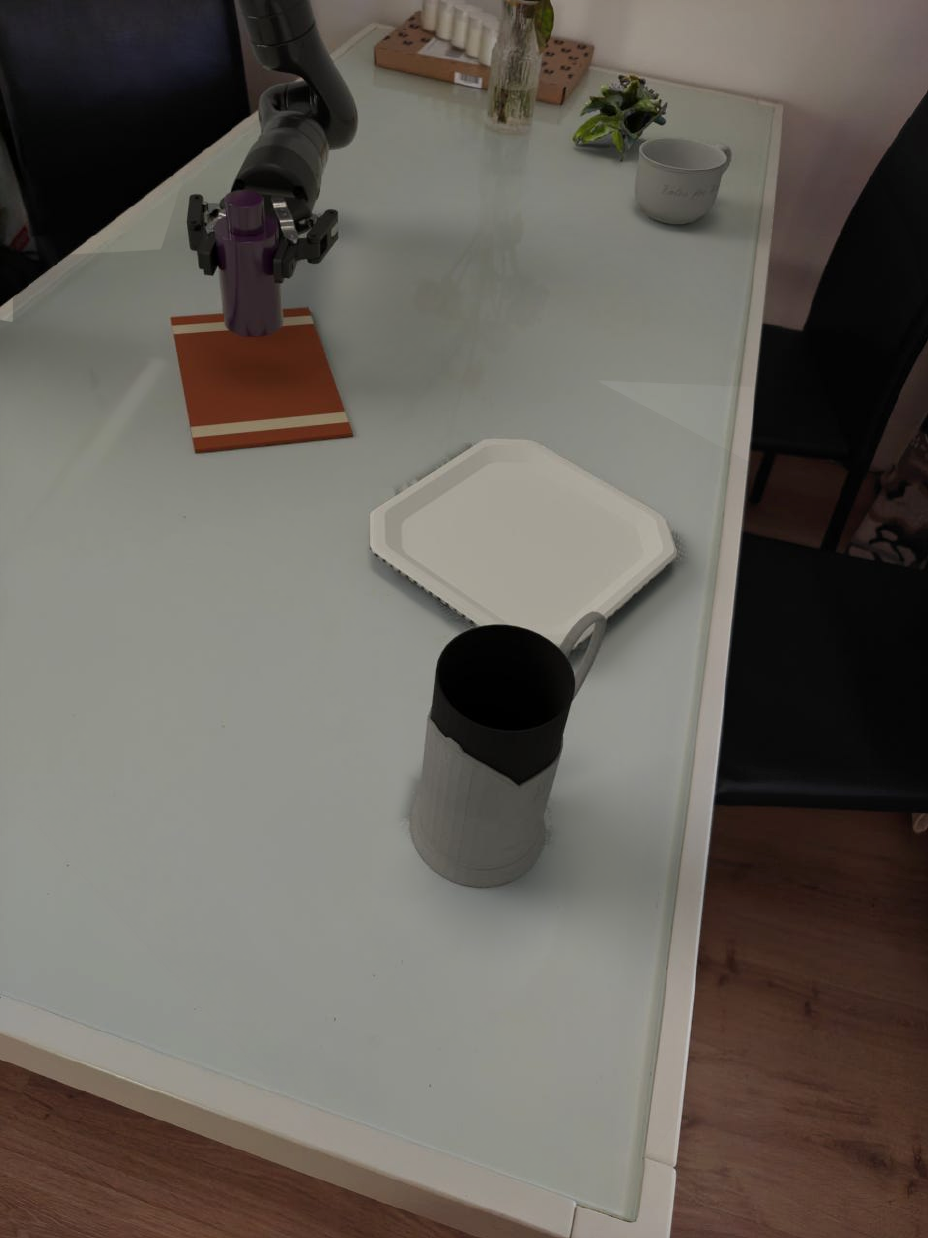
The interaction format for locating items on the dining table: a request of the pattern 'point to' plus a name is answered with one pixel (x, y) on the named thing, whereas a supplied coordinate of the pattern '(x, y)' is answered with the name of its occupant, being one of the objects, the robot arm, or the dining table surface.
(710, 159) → the teacup
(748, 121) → the dining table surface
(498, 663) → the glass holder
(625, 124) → the green leafy clump
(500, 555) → the plate
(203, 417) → the towel
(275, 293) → the bottle
